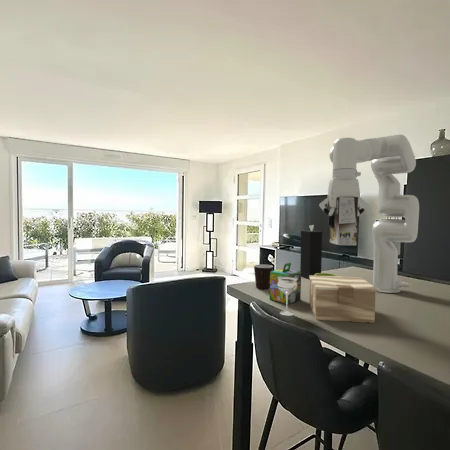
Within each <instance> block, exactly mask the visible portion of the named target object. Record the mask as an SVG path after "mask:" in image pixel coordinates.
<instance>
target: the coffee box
mask: <svg viewBox="0 0 450 450" xmlns="http://www.w3.org/2000/svg"><path fill="white" fill-rule="evenodd" d="M358 210H359V207H358V197H337V198H336V208H335V211H334V212H333V216H334V226H333V228H330V227H329V243H330V244H333V245H338V246H357V245H358V244H357V240H358V238H357V237H358V234H357V233H358V226H357V213H358Z"/></svg>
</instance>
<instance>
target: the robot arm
mask: <svg viewBox="0 0 450 450" xmlns="http://www.w3.org/2000/svg"><path fill="white" fill-rule="evenodd" d="M329 160H330V162H331V163H332V179H330V180H329V183H328V189H327V198H325V199H324V200H322V201H321V202H320V203H319V205H318V206H319V207H320V209H321V210H322V212H324V213H325V214H326V215H327V219H328V220H327V225H328V226H329V229H330V228H333V226H334V216H333V212H334V211H335V208H336V198H337V197H358V213H357V227H358V226H359V217H361V214H363V213H364V212H365V210H366V209H368V207H369V206H370V205H369V203H368V202H366V201H365V200H364V199H363V198H362V197H361V191H360V189H361V188H360V181H359V179H358V177H361V174H362V173H361V171H358V170H357V164H359V163H360V164H361V163H365V162H370V169H371V172H372V173H373V175H374V177H375V178H376V181H377V183H378V197H377V199H378V200H377V212H378V214H379V215H380V216H381V217H391V218H392V217H393V218H394V217H395V218H404V219H379V220H376V221H374V222H373V224H372V226H371V227H372V237H373V238H372V239H373V270H372V271H373V272H372V275H373V277H372V283H370V284H371V285H372V286H373V287H375V288H376V289H377V293H378V292H380V293H384V294H385V293H387V294H398V293H401V287H402V288H403V287H404V288H409V287H410V283H409V282H403V281H400V280H398V260H399V259H398V258H399V252H398V249H397V247H396V246H395V244H394V242H395V243H396V242H398V243H414V242H415V241H416V239H417V238H418V232H419V216H420V203H419V199H418V197H417V196H416V195H412V194H401V183H400V181H399V179H398V178H397V177H395V175H396V174H397V175H398V174H409V173H411V172H413V171H414V170H415V168H416V166H417V160H416V156H415V153H414V150H413V148H412V145H411V143H410V141H409V139H408V138H407V137H406V136H405V135H404V134H399V133H398V134H393V135H388V136H380V137H372V138H365V139H359V140H358V139H356V138H353V137H342V138H337V139H336V140H334V142H333V146H331V149H330V150H329ZM326 204H327V206H325V205H326ZM360 206H361V207H360ZM327 207H328V208H329V209H328V208H327Z"/></svg>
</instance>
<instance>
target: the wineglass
mask: <svg viewBox="0 0 450 450" xmlns="http://www.w3.org/2000/svg"><path fill="white" fill-rule="evenodd" d="M278 280H279V281H278V283H277V286H278V288H279V290H280V291H281V292H283V293H285V295H286V304H285V310H281V311H279V314H280V315H281V316H289V317H290V316H294V315H295V313H294V312H293V311H290V310H288V307H289V304H288V295H290V294H291V293H293V292H294V291H295V290H296V289H297V282H296V281H297V278H294V277H278Z"/></svg>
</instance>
